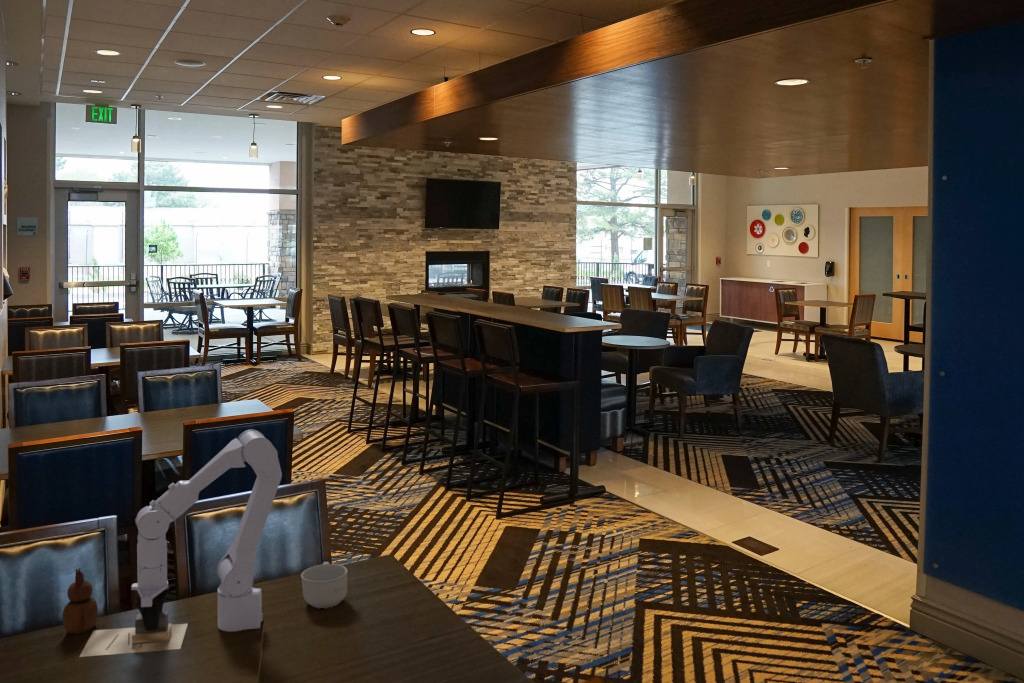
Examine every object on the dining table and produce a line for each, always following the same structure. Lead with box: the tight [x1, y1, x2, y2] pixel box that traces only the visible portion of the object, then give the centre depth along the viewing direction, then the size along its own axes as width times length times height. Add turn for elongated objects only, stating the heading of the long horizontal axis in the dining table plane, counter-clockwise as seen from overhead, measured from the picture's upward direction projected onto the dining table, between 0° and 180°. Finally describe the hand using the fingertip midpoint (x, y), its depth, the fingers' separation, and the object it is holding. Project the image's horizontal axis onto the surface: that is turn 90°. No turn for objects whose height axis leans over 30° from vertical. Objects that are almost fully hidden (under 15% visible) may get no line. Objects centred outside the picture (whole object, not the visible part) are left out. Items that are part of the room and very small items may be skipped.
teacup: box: [300, 561, 349, 609], centre depth 198 cm, size 14×11×8 cm
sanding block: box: [132, 611, 172, 645], centre depth 173 cm, size 7×4×5 cm, turn 105°
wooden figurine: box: [62, 568, 99, 634], centre depth 176 cm, size 7×6×15 cm
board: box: [78, 623, 189, 658], centre depth 173 cm, size 19×12×1 cm, turn 104°
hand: (152, 625), depth 173 cm, fingers closed on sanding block, 3 cm apart
